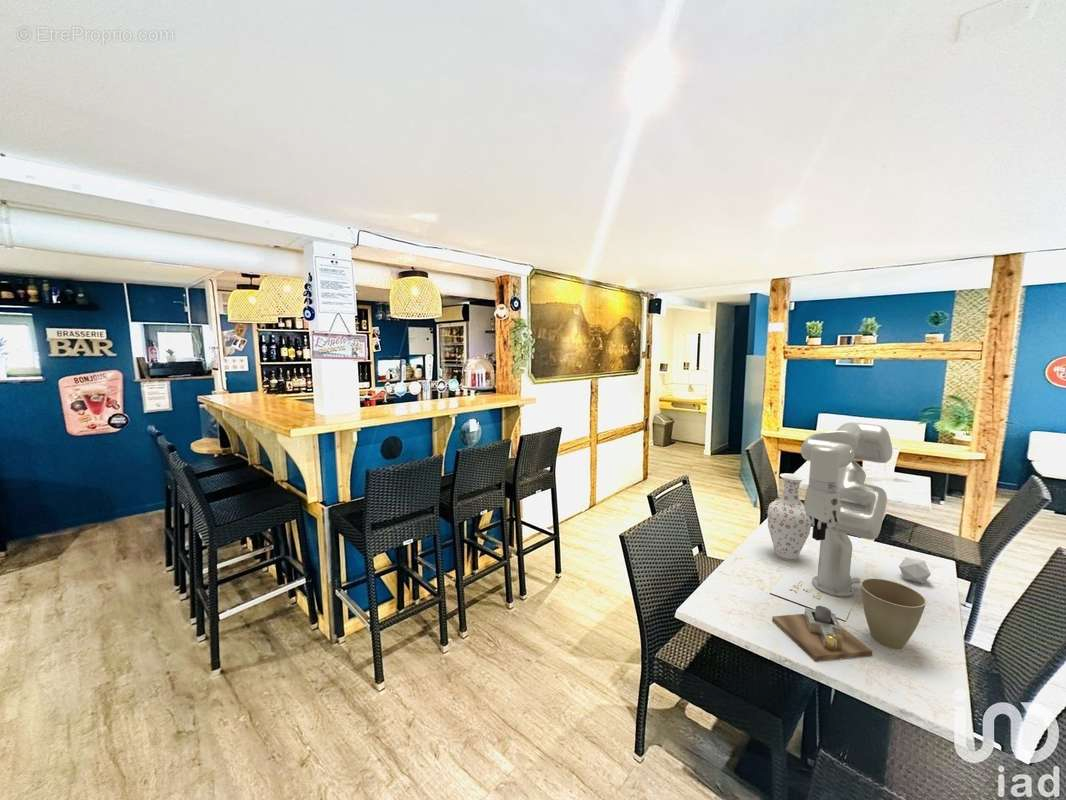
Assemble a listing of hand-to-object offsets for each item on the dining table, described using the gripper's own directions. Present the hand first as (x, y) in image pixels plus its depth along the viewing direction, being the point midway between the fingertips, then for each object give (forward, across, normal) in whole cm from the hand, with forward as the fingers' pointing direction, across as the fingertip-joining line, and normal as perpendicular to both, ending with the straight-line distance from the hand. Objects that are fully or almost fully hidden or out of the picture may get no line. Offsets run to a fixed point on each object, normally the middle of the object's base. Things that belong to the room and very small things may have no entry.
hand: (818, 538), depth 137 cm
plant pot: (+27, -14, -13) cm, 33 cm away
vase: (+28, +38, -20) cm, 51 cm away
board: (+26, -10, +6) cm, 29 cm away
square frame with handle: (+25, -11, +6) cm, 28 cm away
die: (+28, +15, -55) cm, 63 cm away
